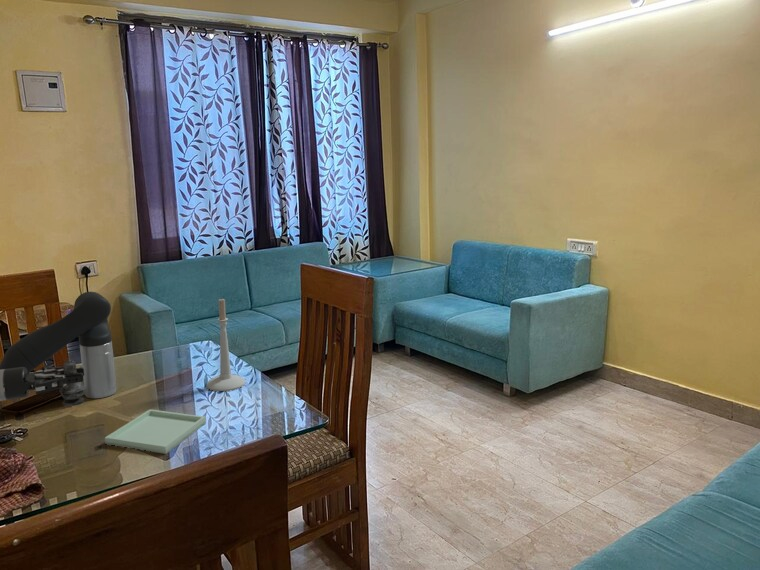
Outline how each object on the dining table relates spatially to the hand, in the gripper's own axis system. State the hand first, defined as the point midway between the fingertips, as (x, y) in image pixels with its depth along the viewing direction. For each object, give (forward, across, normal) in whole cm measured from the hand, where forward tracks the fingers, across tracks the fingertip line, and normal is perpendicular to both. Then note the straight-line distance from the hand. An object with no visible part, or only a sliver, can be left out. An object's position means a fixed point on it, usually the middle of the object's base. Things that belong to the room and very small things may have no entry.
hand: (83, 374), depth 146 cm
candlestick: (+40, -30, -20) cm, 54 cm away
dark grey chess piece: (-3, 0, -7) cm, 8 cm away
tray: (+16, -1, -20) cm, 26 cm away
